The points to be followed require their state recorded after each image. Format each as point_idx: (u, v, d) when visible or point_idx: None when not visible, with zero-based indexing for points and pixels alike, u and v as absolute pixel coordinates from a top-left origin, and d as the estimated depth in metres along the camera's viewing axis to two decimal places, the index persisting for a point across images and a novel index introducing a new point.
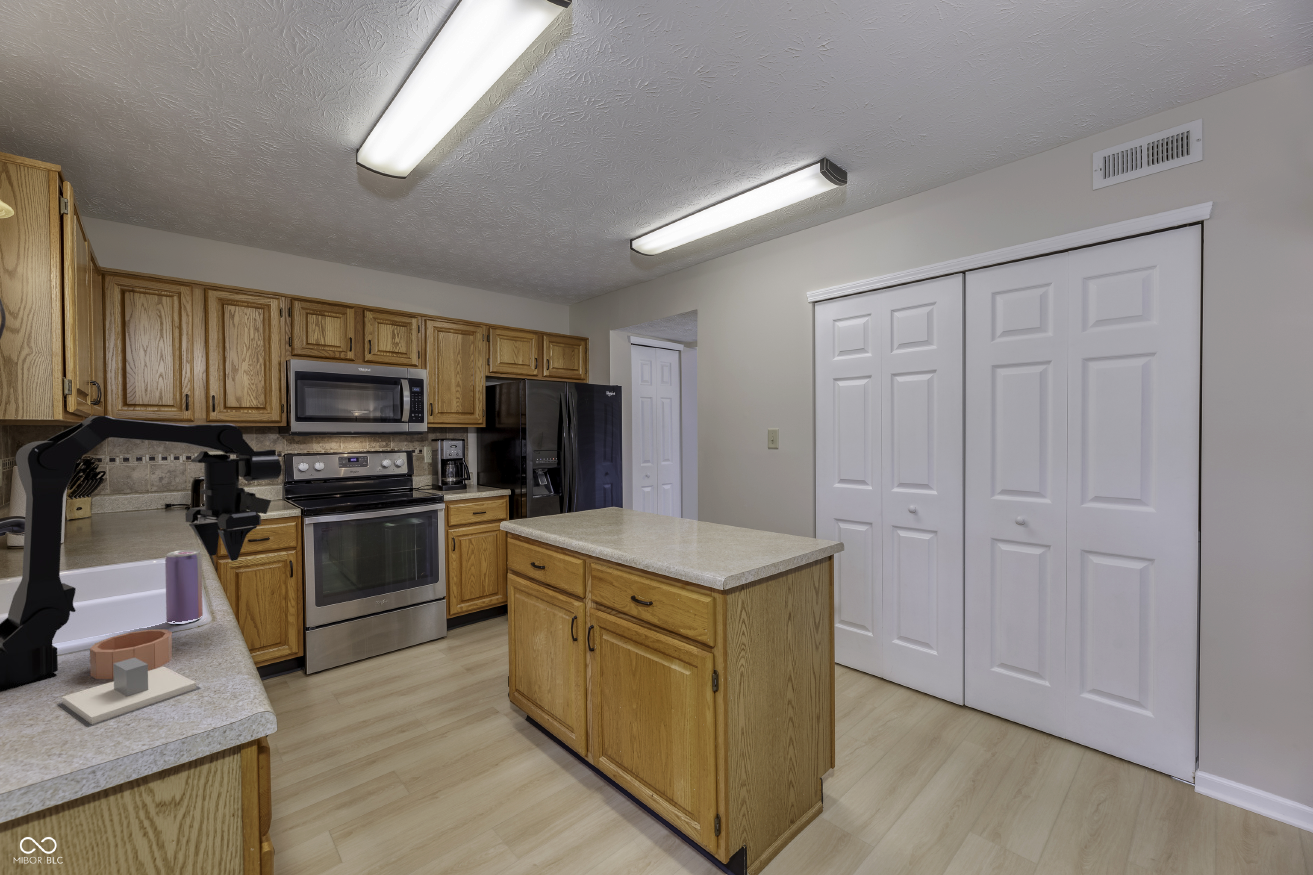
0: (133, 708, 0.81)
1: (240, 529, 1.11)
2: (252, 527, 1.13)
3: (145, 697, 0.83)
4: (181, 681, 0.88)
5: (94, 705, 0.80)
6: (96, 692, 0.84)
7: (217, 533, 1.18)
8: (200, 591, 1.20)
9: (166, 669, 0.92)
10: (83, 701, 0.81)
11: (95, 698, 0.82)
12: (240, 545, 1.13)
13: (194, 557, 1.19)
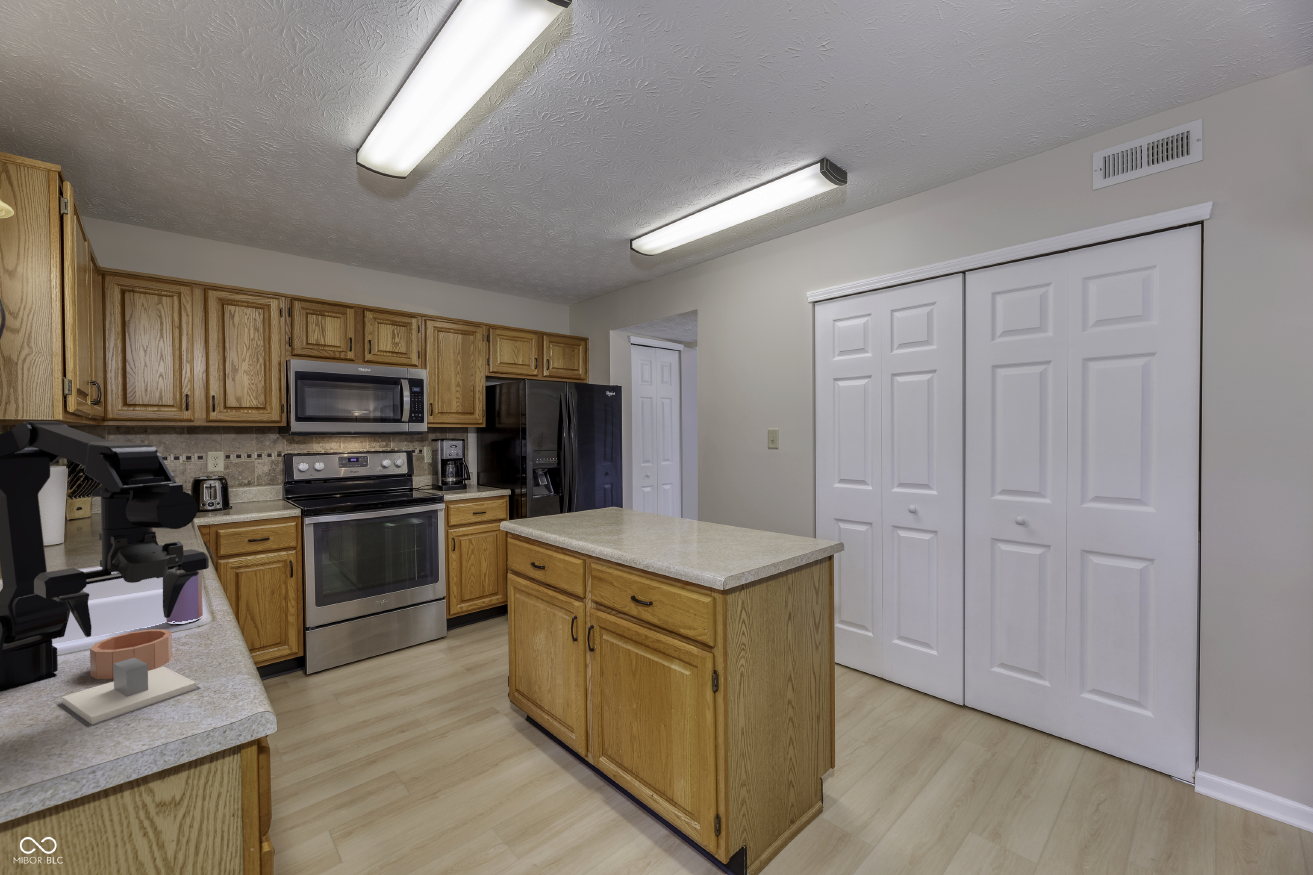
0: (133, 708, 0.81)
1: None
2: (58, 598, 0.77)
3: (145, 697, 0.83)
4: (181, 681, 0.88)
5: (94, 705, 0.80)
6: (96, 692, 0.84)
7: (172, 590, 0.89)
8: (200, 591, 1.20)
9: (166, 669, 0.92)
10: (83, 701, 0.81)
11: (95, 698, 0.82)
12: (80, 618, 0.80)
13: None
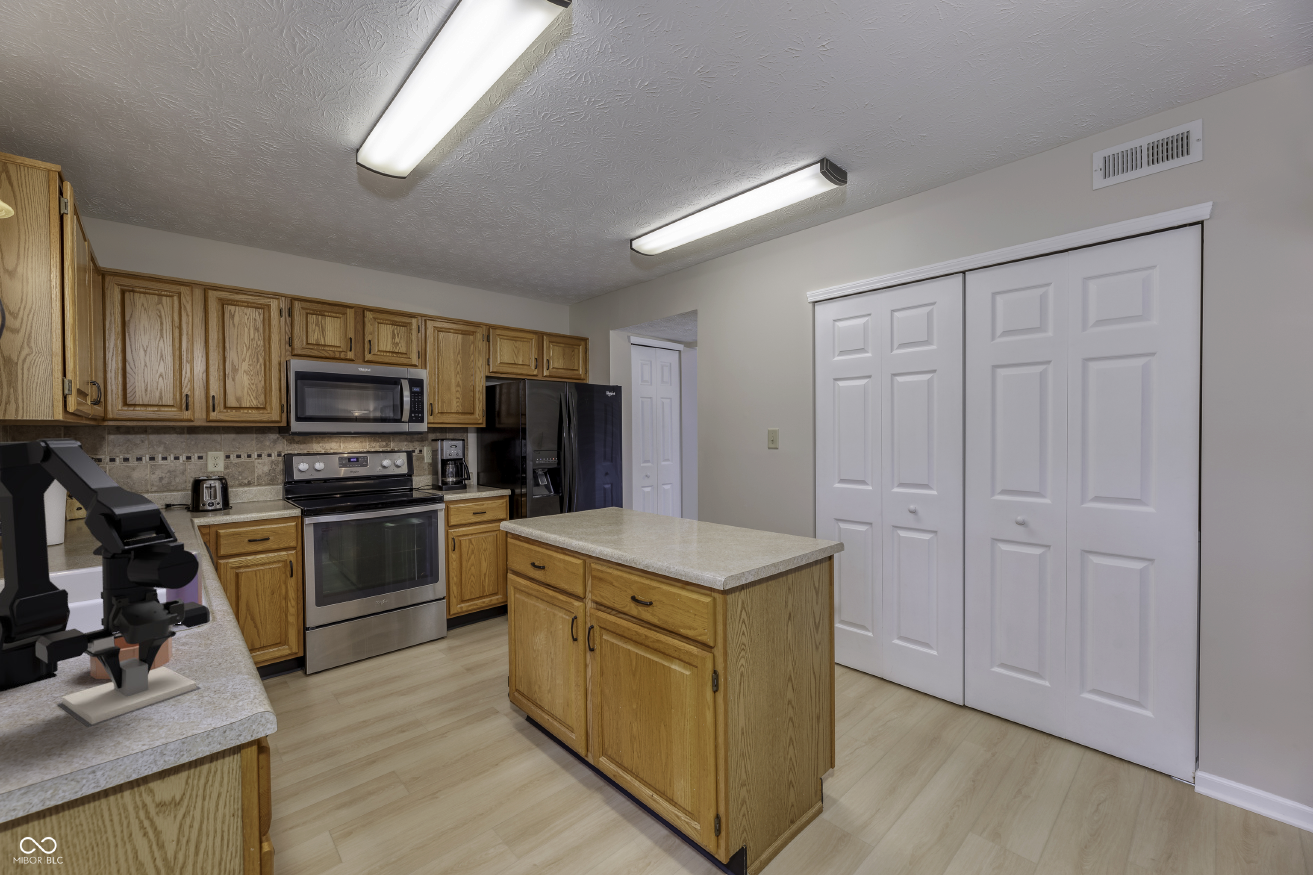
0: (133, 708, 0.81)
1: (85, 651, 0.81)
2: (91, 654, 0.80)
3: (145, 697, 0.83)
4: (181, 681, 0.88)
5: (94, 705, 0.80)
6: (96, 692, 0.84)
7: (148, 652, 0.86)
8: (200, 591, 1.20)
9: (166, 669, 0.92)
10: (83, 701, 0.81)
11: (95, 698, 0.82)
12: (111, 671, 0.83)
13: None
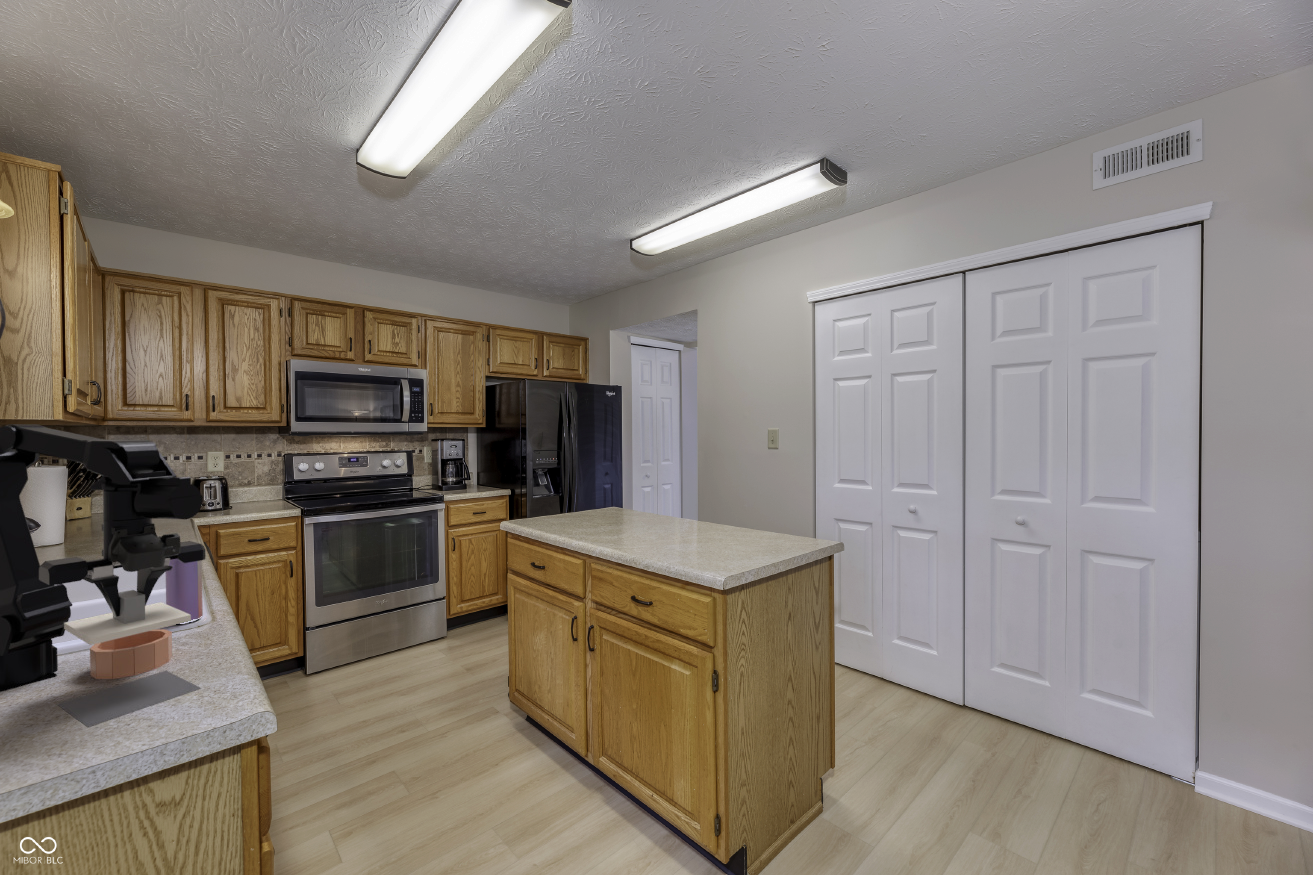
0: (130, 633, 0.85)
1: (86, 578, 0.85)
2: (91, 580, 0.84)
3: (141, 624, 0.87)
4: (177, 613, 0.92)
5: (93, 629, 0.84)
6: (96, 620, 0.88)
7: (145, 584, 0.90)
8: (200, 591, 1.20)
9: (163, 604, 0.96)
10: (83, 626, 0.86)
11: (95, 624, 0.86)
12: (110, 599, 0.87)
13: None
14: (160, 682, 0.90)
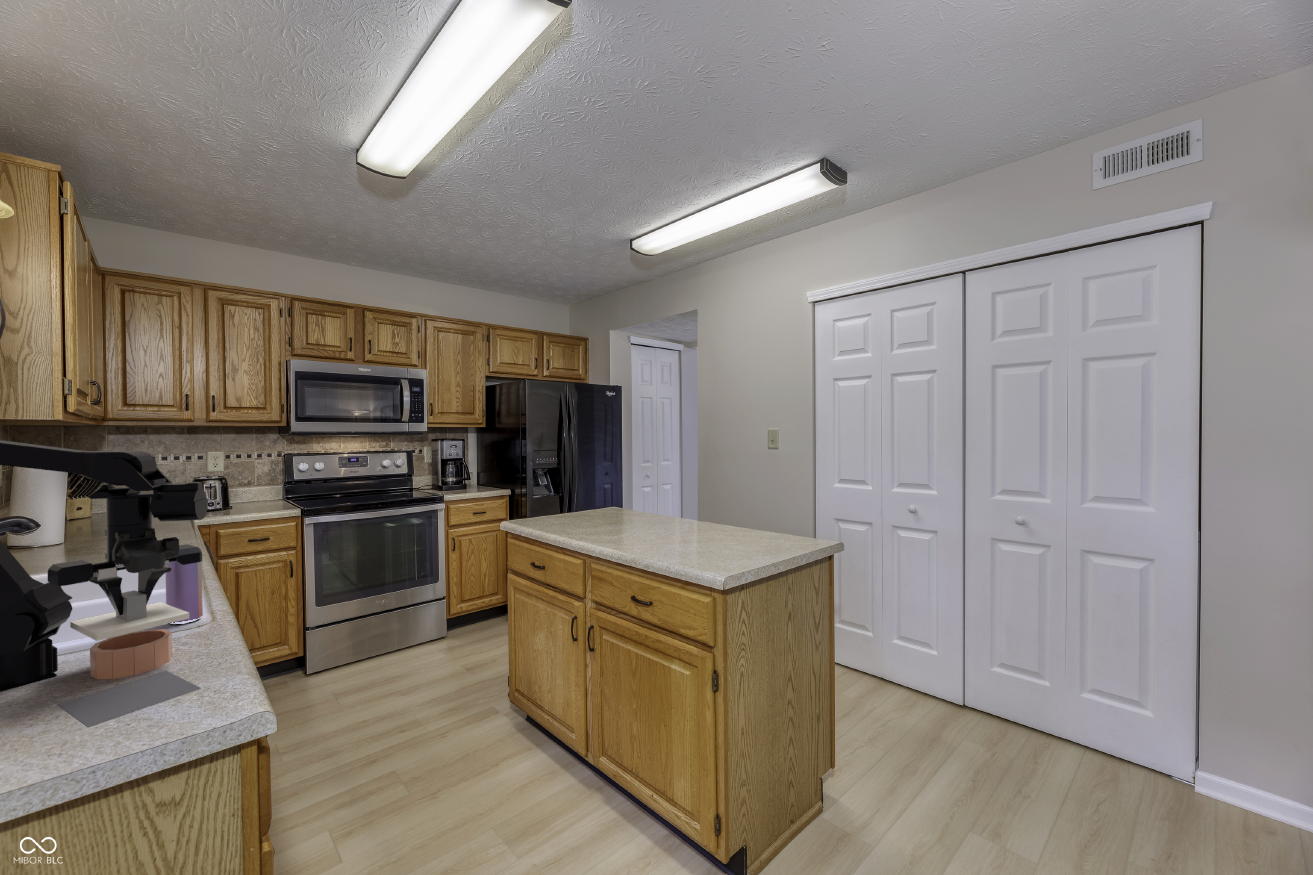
0: (133, 630, 0.91)
1: (91, 580, 0.92)
2: (96, 581, 0.91)
3: (144, 622, 0.93)
4: (176, 612, 0.98)
5: (98, 627, 0.91)
6: (100, 618, 0.95)
7: (146, 585, 0.97)
8: (200, 591, 1.20)
9: (163, 604, 1.03)
10: (89, 624, 0.92)
11: (99, 622, 0.93)
12: (114, 599, 0.93)
13: None
14: (160, 682, 0.90)
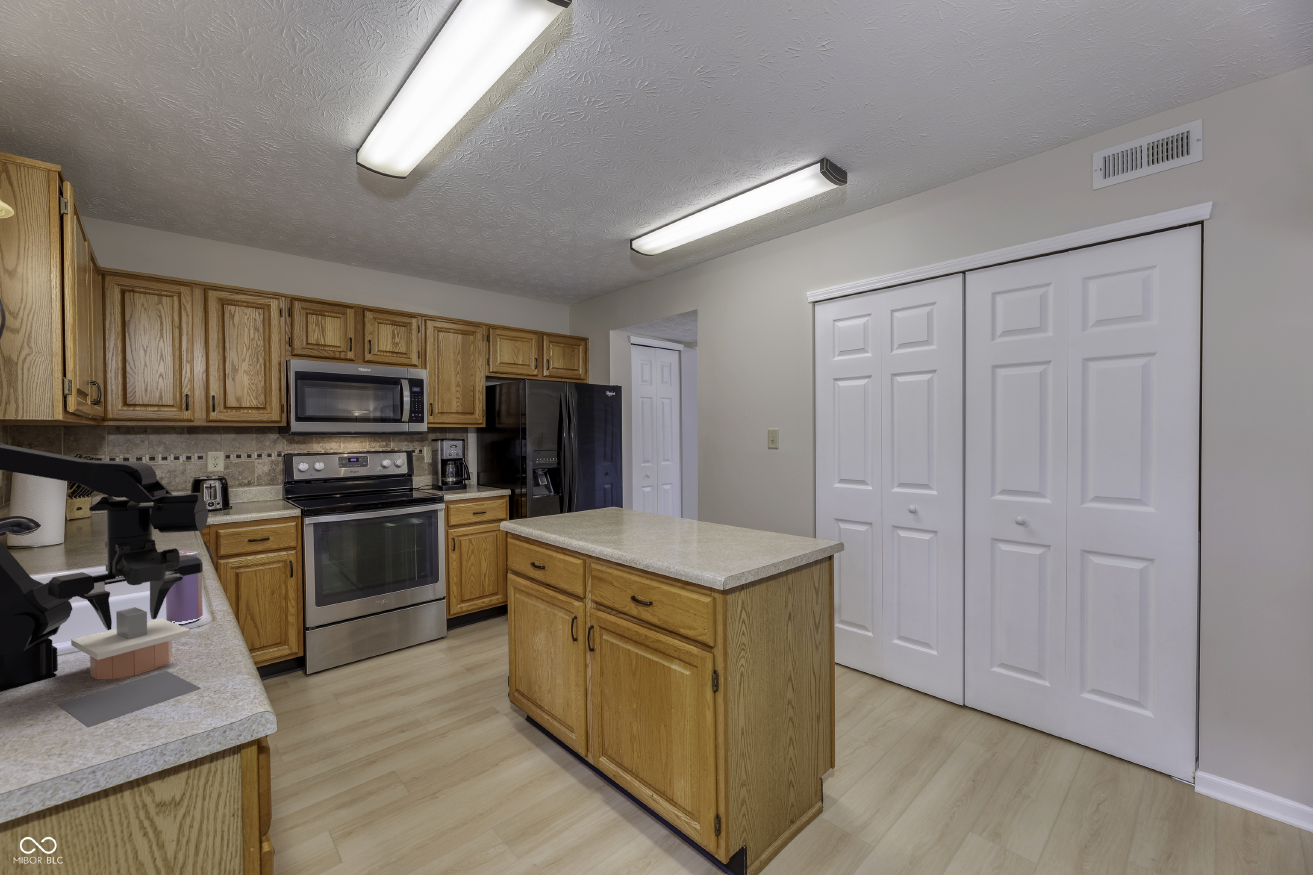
0: (134, 648, 0.92)
1: None
2: (84, 596, 0.89)
3: (144, 640, 0.93)
4: (176, 628, 0.98)
5: (99, 645, 0.91)
6: (101, 636, 0.95)
7: (158, 594, 0.98)
8: (200, 591, 1.20)
9: (163, 620, 1.03)
10: (89, 642, 0.92)
11: (100, 640, 0.93)
12: (102, 614, 0.92)
13: None
14: (160, 682, 0.90)
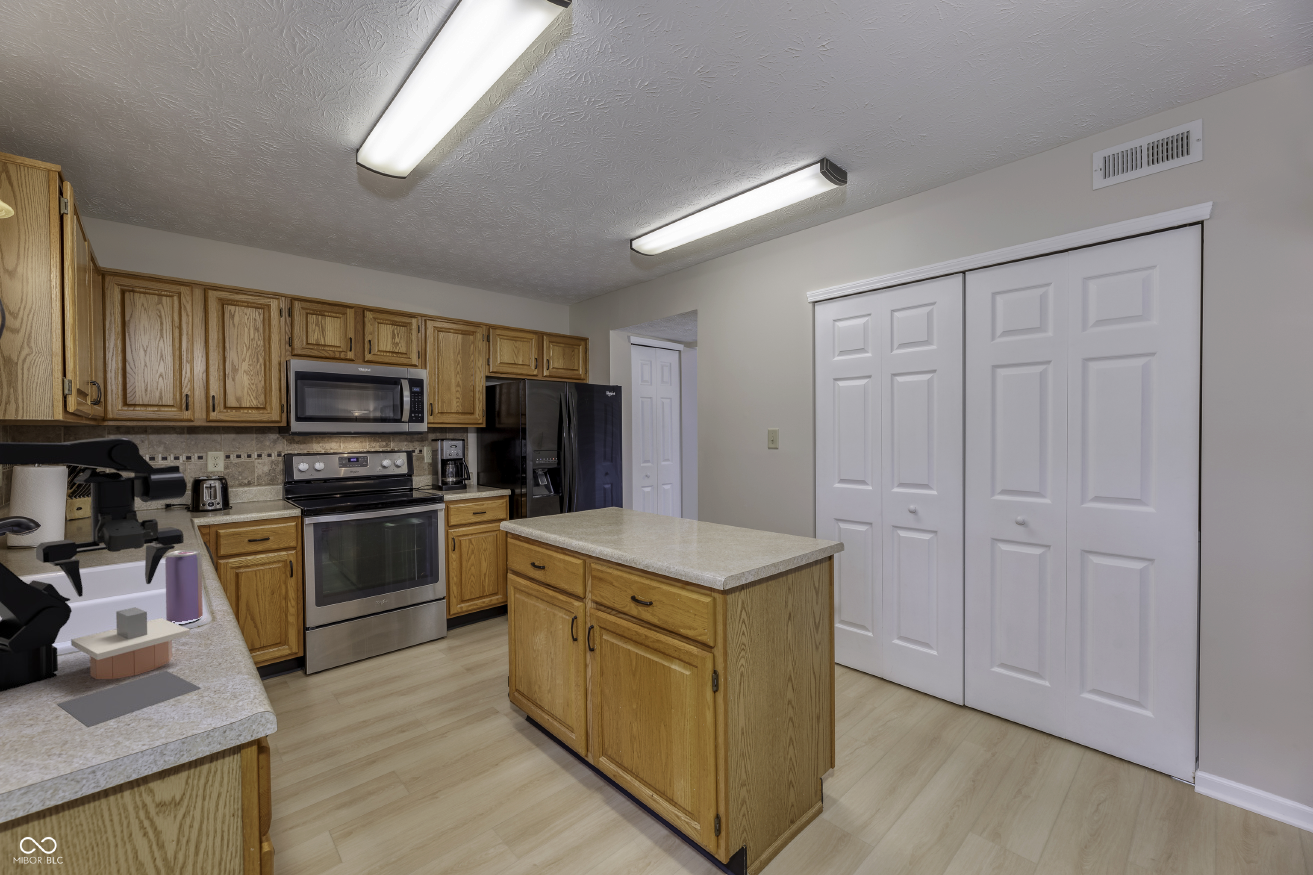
0: (134, 648, 0.92)
1: (50, 562, 0.95)
2: (54, 563, 0.94)
3: (144, 640, 0.93)
4: (176, 628, 0.98)
5: (99, 645, 0.91)
6: (101, 636, 0.95)
7: (152, 560, 1.05)
8: (200, 591, 1.20)
9: (163, 620, 1.03)
10: (89, 642, 0.92)
11: (100, 640, 0.93)
12: (73, 581, 0.97)
13: (194, 557, 1.19)
14: (160, 682, 0.90)
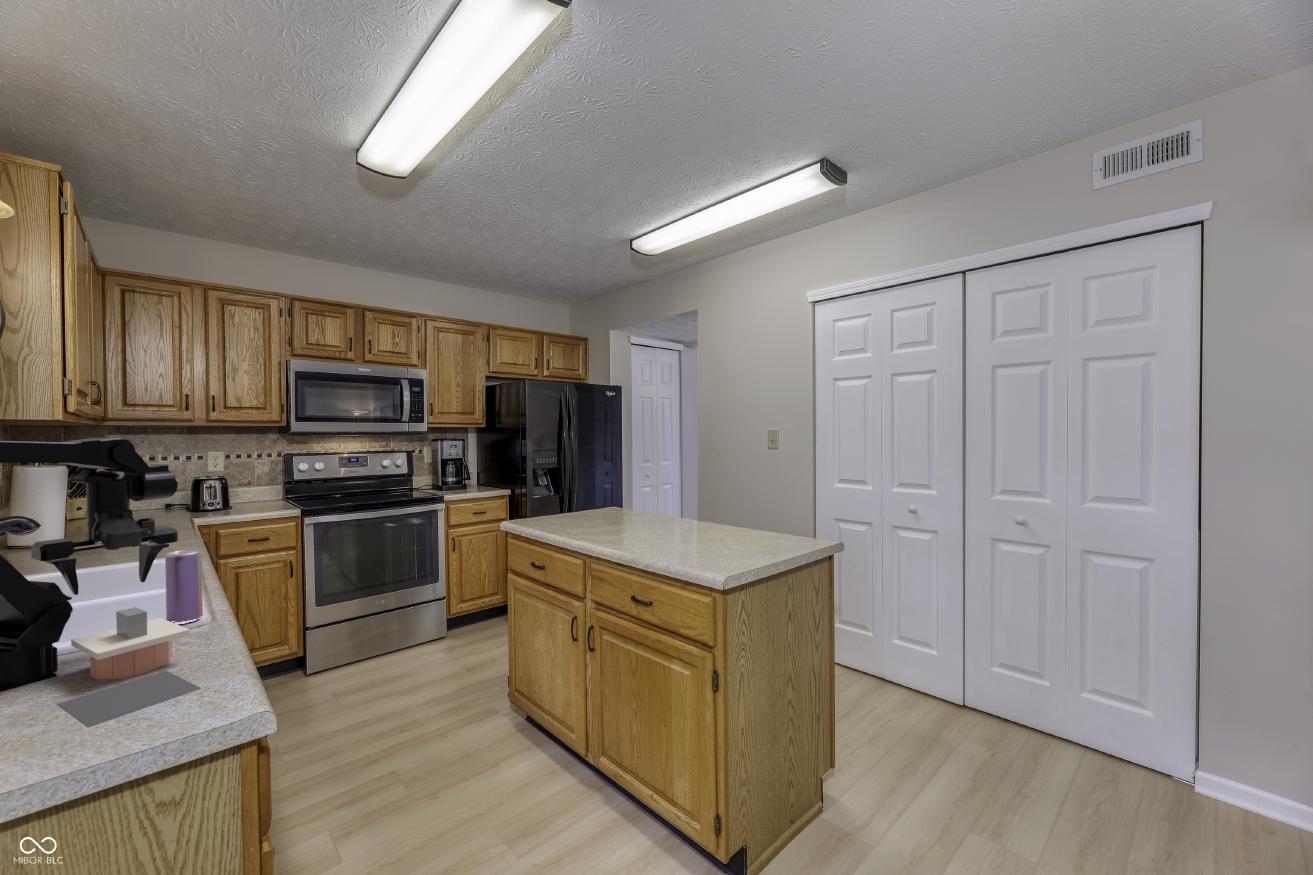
0: (134, 648, 0.92)
1: (46, 561, 0.96)
2: (51, 562, 0.95)
3: (144, 640, 0.93)
4: (176, 628, 0.98)
5: (99, 645, 0.91)
6: (101, 636, 0.95)
7: (146, 559, 1.07)
8: (200, 591, 1.20)
9: (163, 620, 1.03)
10: (89, 642, 0.92)
11: (100, 640, 0.93)
12: (69, 579, 0.98)
13: (194, 557, 1.19)
14: (160, 682, 0.90)
